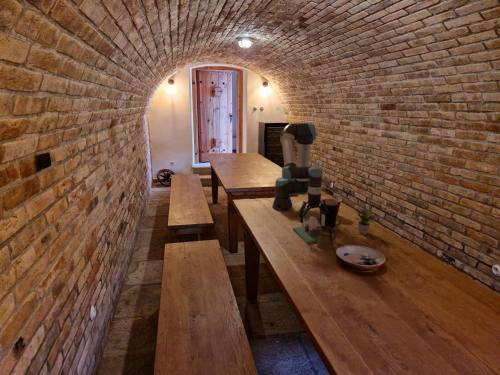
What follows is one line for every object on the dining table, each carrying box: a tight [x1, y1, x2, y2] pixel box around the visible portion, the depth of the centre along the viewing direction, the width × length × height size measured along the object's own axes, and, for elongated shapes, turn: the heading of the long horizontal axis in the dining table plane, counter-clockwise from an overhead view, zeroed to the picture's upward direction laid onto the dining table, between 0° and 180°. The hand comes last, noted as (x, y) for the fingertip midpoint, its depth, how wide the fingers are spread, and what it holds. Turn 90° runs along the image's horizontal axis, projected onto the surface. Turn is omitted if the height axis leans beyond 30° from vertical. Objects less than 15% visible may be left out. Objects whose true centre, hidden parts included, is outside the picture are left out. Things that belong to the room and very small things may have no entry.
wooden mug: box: [316, 220, 343, 250], centre depth 175 cm, size 9×14×18 cm, turn 44°
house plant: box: [354, 207, 377, 235], centre depth 194 cm, size 14×14×16 cm
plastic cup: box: [328, 197, 343, 216], centre depth 223 cm, size 11×11×12 cm
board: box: [292, 222, 321, 245], centre depth 193 cm, size 20×16×6 cm
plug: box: [308, 216, 318, 232], centre depth 192 cm, size 5×3×10 cm, turn 17°
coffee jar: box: [318, 198, 338, 228], centre depth 202 cm, size 11×11×18 cm
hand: (312, 226), depth 191 cm, fingers open, 13 cm apart
